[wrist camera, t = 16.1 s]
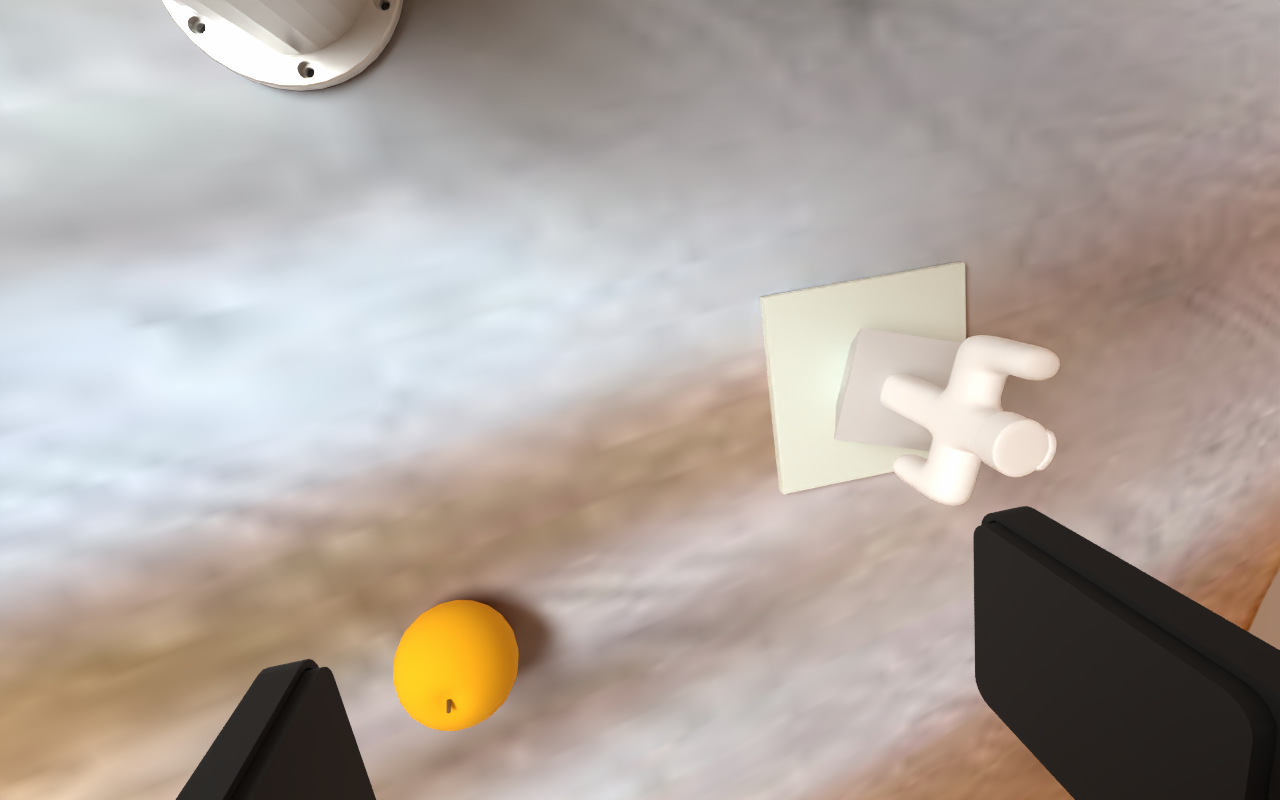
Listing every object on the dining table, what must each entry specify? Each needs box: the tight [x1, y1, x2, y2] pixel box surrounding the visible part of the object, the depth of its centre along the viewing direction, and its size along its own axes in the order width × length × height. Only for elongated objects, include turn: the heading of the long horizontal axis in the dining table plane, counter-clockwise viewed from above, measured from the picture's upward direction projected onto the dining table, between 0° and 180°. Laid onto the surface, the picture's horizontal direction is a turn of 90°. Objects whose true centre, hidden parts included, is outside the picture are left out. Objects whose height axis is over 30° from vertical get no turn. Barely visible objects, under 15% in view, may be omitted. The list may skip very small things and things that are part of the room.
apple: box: [394, 600, 519, 731], centre depth 42 cm, size 8×8×8 cm
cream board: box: [759, 262, 966, 494], centre depth 44 cm, size 14×14×1 cm
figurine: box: [834, 328, 1060, 506], centre depth 37 cm, size 7×9×15 cm
